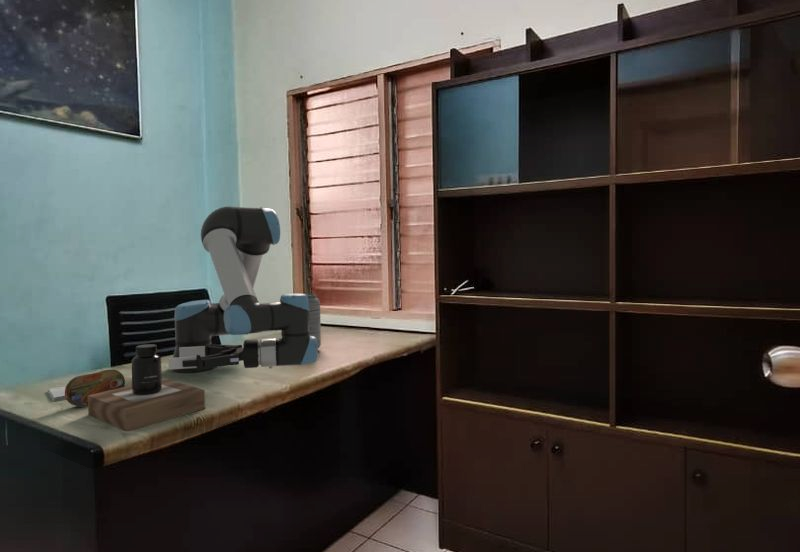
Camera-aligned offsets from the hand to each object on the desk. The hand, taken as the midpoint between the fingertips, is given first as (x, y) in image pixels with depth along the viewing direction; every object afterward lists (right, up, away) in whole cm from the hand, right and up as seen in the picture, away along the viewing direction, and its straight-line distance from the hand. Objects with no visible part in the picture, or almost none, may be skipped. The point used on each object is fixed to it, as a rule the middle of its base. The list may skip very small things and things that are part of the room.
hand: (174, 357), depth 131 cm
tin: (-25, -14, +8) cm, 30 cm away
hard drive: (-38, -14, +16) cm, 44 cm away
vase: (+21, -9, +74) cm, 77 cm away
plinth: (-7, -14, -1) cm, 15 cm away
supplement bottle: (-7, -9, -1) cm, 11 cm away
